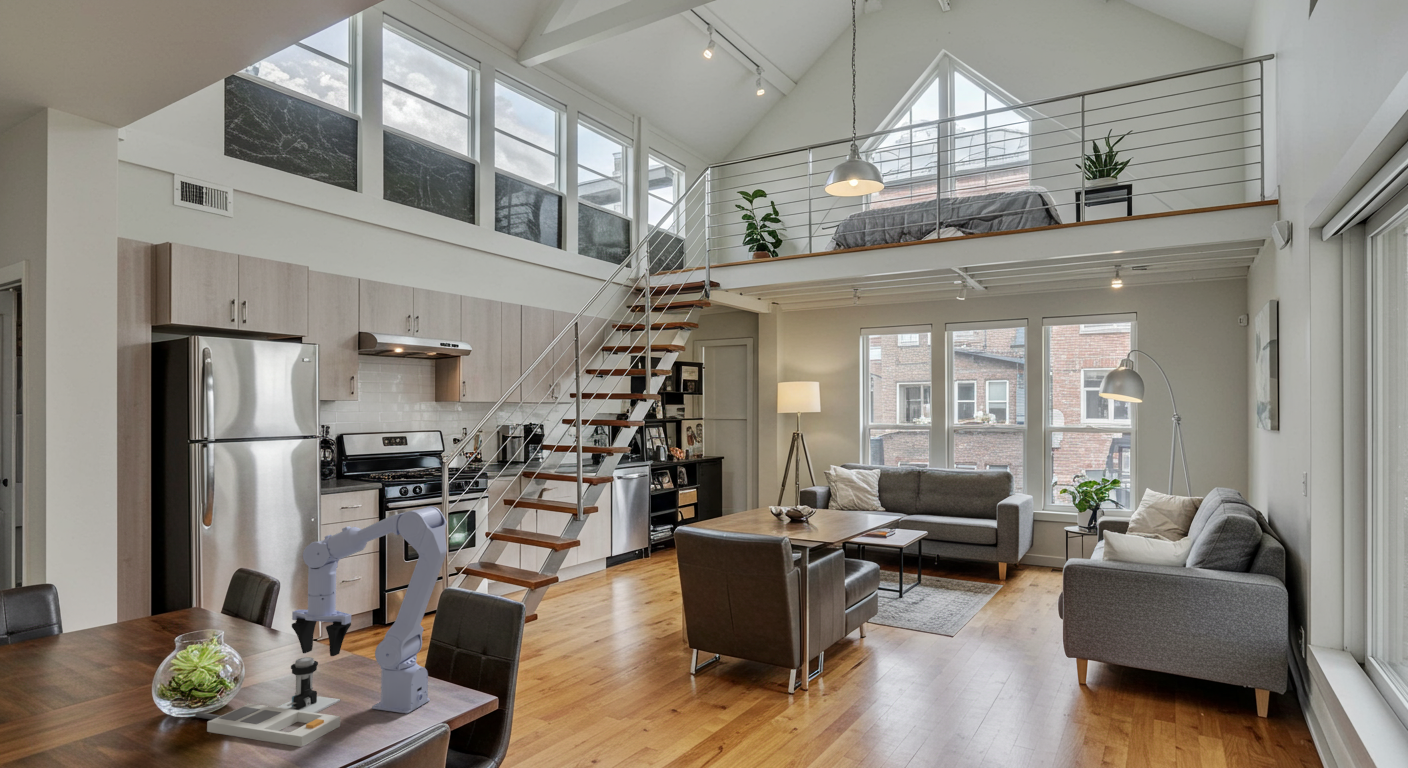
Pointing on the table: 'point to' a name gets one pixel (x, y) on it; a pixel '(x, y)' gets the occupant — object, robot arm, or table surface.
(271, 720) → the white compartment tray
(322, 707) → the mat
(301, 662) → the push button
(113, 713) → the table surface
